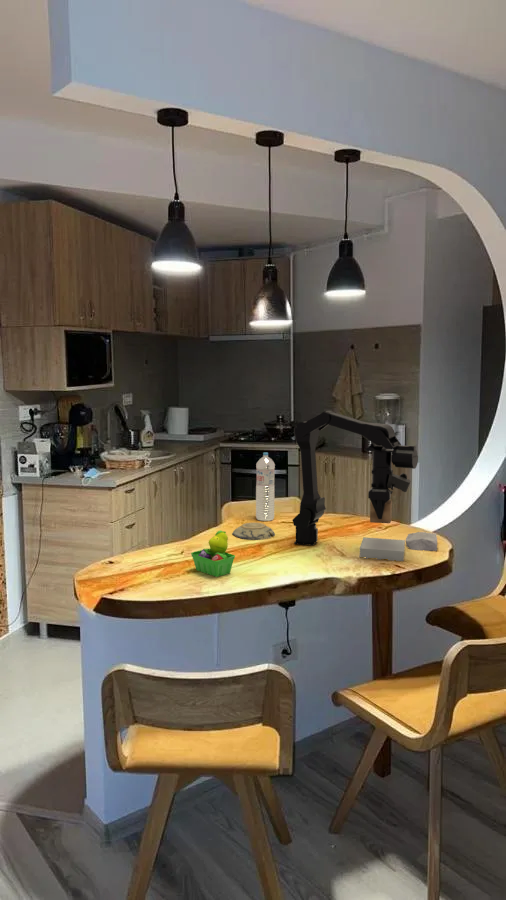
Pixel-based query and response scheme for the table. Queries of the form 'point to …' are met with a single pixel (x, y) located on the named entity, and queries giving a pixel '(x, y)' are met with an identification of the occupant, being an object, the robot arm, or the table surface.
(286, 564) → the table surface
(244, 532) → the decorative bowl
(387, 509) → the cube
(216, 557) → the fruit basket
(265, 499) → the water bottle
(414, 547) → the stone block
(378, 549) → the tile
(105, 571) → the table surface
